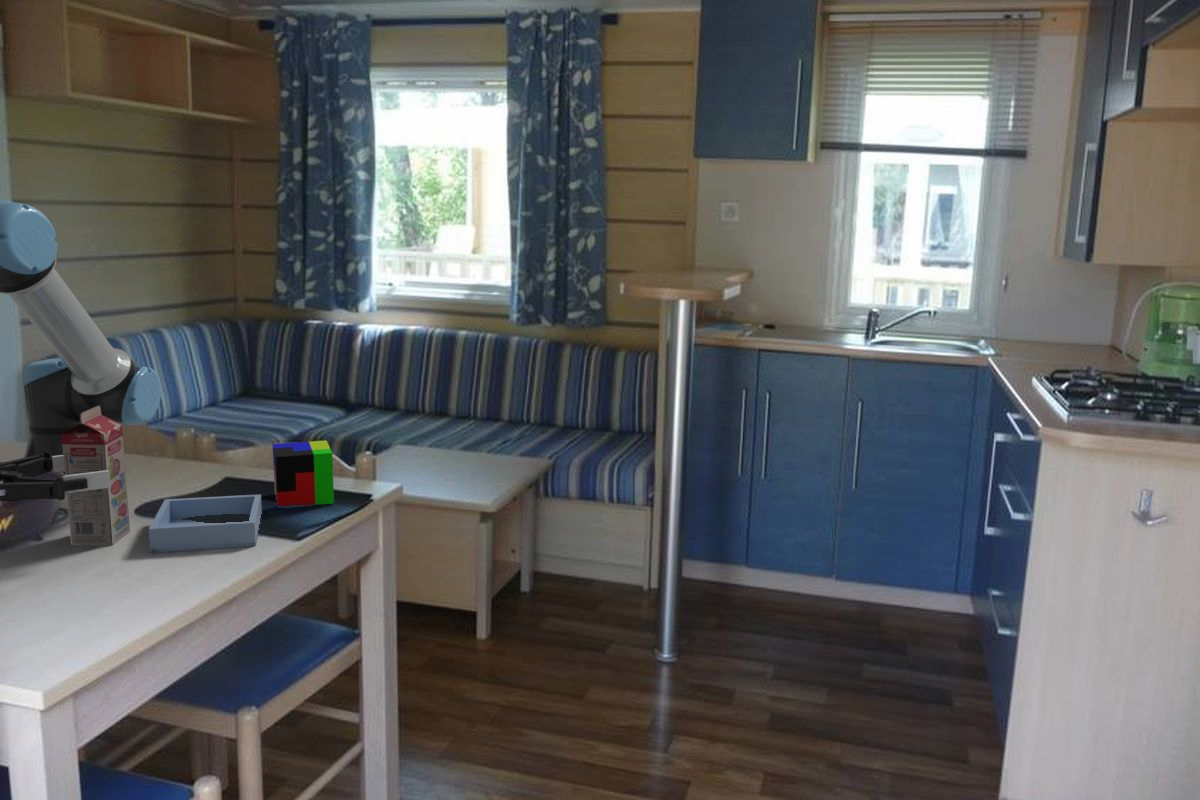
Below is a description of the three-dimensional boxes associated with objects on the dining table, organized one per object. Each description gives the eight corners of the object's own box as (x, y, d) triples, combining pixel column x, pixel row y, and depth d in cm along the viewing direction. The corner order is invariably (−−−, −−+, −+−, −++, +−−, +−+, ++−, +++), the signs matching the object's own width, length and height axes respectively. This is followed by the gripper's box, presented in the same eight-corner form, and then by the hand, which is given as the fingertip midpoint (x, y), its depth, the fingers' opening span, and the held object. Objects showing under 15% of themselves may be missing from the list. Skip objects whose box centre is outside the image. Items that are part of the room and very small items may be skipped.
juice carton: (71, 544, 162) (59, 413, 158) (90, 531, 169) (79, 404, 164) (112, 545, 162) (101, 413, 158) (130, 531, 169) (120, 405, 165)
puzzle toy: (274, 494, 192) (272, 444, 190) (328, 489, 195) (326, 440, 193) (278, 509, 183) (275, 456, 181) (334, 504, 186) (332, 453, 184)
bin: (166, 521, 175) (164, 499, 174) (262, 515, 179) (261, 494, 178) (150, 552, 159) (148, 529, 159) (255, 545, 163) (254, 522, 163)
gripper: (-52, 490, 162) (92, 472, 174) (-45, 534, 142) (117, 510, 154) (-57, 446, 161) (89, 431, 173) (-51, 484, 141) (113, 464, 153)
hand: (103, 468), depth 164 cm, fingers open, 13 cm apart
